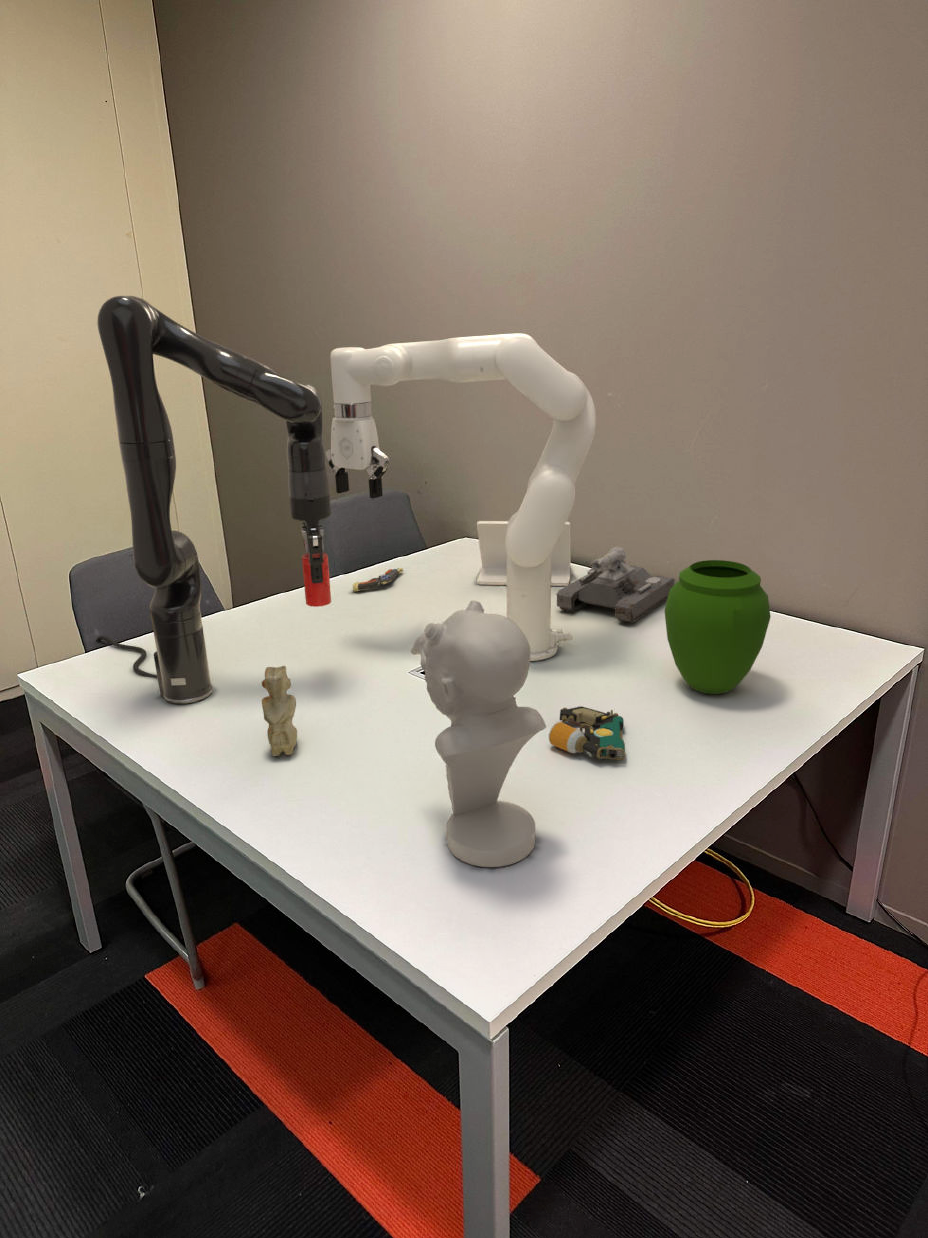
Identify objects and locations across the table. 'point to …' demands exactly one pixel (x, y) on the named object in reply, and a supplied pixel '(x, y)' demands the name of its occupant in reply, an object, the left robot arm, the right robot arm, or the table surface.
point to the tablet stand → (496, 555)
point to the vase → (716, 623)
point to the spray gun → (589, 733)
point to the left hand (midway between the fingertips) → (316, 577)
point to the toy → (616, 588)
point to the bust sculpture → (481, 729)
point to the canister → (316, 591)
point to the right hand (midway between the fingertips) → (359, 494)
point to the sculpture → (279, 711)
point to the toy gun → (378, 580)
